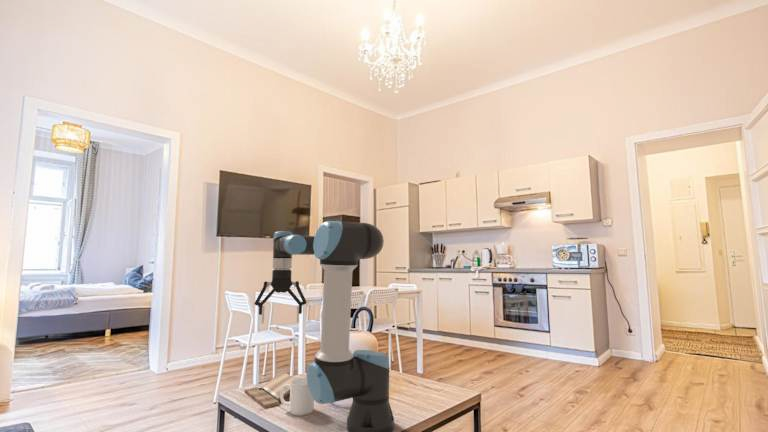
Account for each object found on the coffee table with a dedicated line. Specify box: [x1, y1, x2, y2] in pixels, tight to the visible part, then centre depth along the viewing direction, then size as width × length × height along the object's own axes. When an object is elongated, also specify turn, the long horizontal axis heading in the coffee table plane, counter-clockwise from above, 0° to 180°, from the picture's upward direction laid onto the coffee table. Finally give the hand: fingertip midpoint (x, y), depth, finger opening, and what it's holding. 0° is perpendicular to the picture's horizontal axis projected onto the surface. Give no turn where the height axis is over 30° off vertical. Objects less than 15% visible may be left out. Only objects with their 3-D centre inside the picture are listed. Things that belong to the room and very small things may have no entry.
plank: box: [261, 370, 296, 402], centre depth 154 cm, size 16×10×2 cm, turn 38°
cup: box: [280, 377, 315, 416], centre depth 138 cm, size 8×12×10 cm
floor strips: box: [244, 386, 280, 409], centre depth 149 cm, size 20×6×1 cm, turn 39°
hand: (280, 322), depth 158 cm, fingers open, 13 cm apart
